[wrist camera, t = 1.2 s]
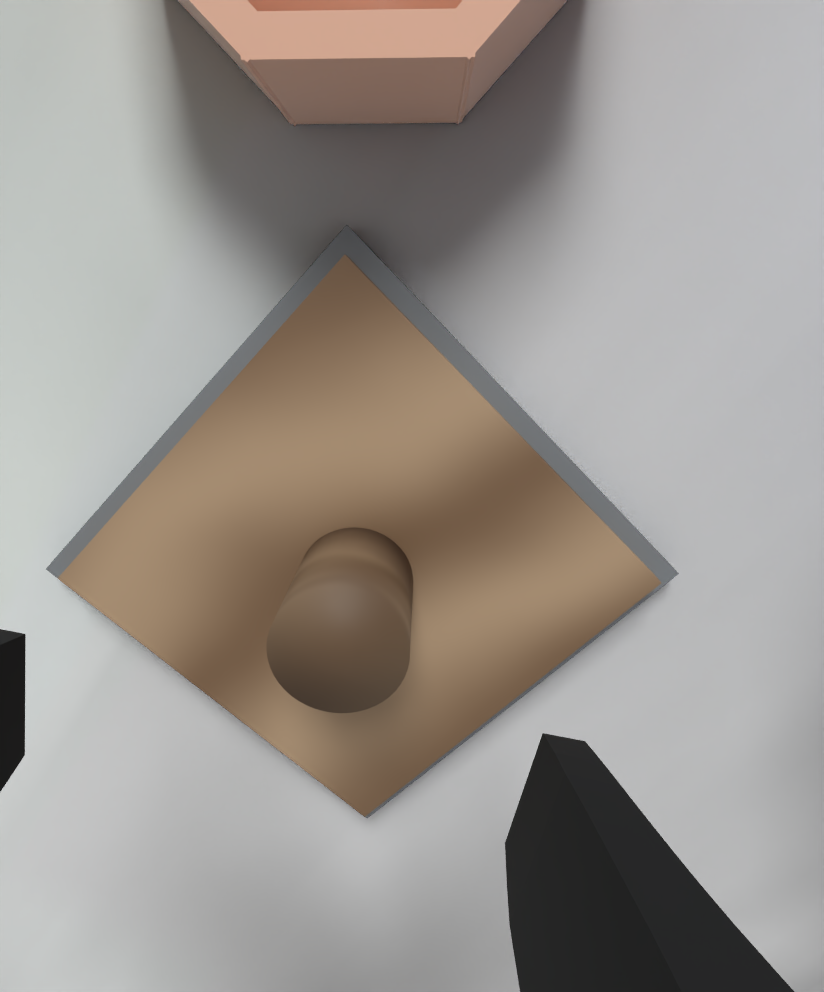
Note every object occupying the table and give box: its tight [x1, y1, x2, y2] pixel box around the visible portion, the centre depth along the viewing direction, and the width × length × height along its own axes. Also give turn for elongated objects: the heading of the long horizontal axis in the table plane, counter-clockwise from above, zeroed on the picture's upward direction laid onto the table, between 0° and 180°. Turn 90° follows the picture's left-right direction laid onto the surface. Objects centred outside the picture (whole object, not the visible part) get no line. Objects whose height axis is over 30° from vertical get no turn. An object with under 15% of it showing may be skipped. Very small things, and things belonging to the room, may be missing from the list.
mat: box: [46, 225, 679, 818], centre depth 17 cm, size 13×13×1 cm
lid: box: [58, 255, 661, 817], centre depth 15 cm, size 12×12×4 cm
